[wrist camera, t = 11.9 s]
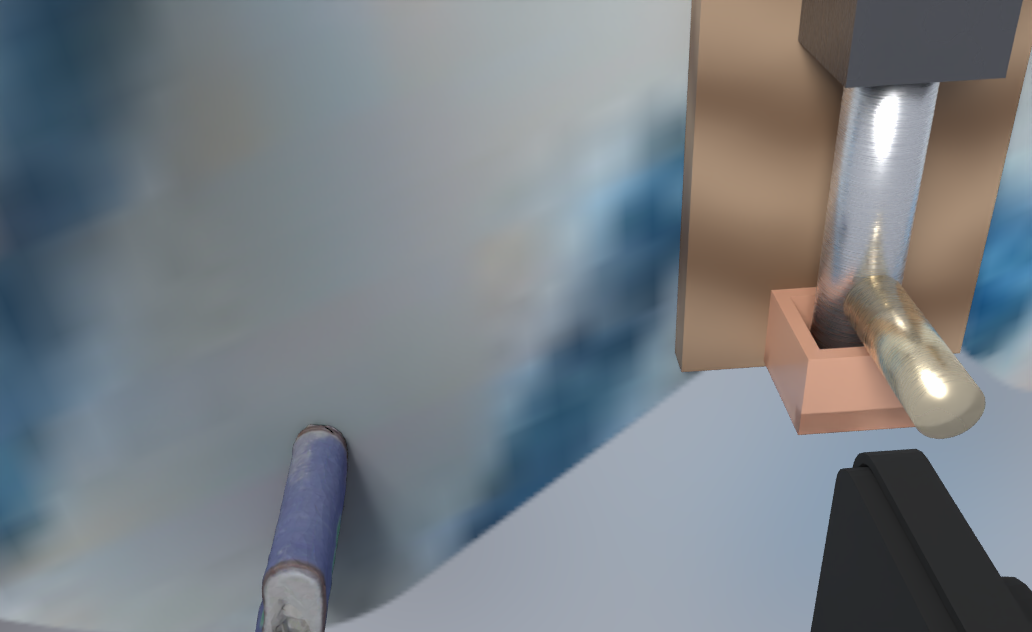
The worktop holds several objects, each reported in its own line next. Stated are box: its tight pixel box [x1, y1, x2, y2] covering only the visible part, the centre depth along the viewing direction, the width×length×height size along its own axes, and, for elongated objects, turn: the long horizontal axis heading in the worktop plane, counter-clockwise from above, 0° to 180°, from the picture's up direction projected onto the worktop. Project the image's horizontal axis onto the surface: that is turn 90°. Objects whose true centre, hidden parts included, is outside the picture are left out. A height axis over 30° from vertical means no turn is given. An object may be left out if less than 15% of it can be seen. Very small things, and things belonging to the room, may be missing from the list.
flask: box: [255, 424, 348, 632], centre depth 42 cm, size 9×3×11 cm, turn 164°
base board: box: [675, 0, 1032, 372], centre depth 37 cm, size 23×12×2 cm, turn 3°
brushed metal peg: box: [810, 82, 985, 439], centre depth 33 cm, size 15×3×10 cm, turn 3°
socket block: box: [764, 287, 915, 435], centre depth 39 cm, size 4×5×5 cm
